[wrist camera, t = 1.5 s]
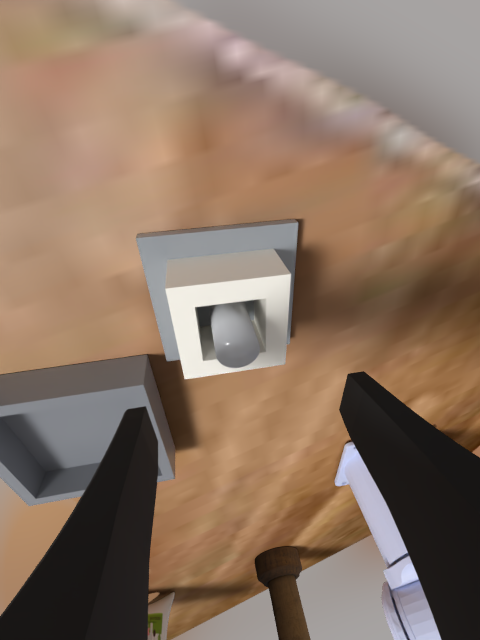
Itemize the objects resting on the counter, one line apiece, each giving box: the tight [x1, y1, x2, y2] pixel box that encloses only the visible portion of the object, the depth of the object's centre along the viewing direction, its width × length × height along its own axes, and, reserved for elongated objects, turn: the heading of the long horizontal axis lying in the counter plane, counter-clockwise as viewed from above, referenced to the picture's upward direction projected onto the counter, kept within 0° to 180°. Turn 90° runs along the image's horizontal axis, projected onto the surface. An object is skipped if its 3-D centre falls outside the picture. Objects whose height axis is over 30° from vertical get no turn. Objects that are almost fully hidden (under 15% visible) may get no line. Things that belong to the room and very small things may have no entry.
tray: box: [0, 355, 175, 506], centre depth 20 cm, size 11×11×3 cm
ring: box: [165, 249, 291, 379], centre depth 16 cm, size 6×6×3 cm
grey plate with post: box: [136, 219, 298, 368], centre depth 15 cm, size 8×8×5 cm
